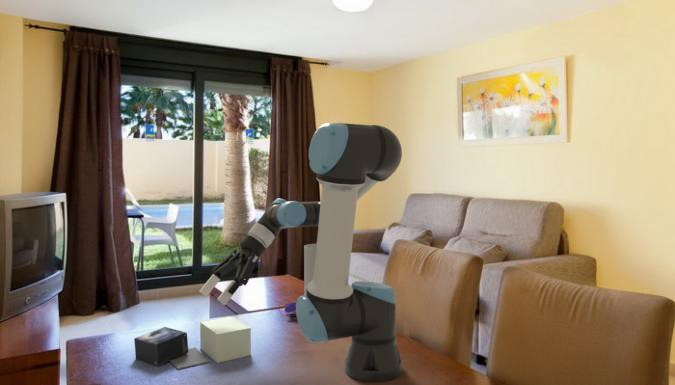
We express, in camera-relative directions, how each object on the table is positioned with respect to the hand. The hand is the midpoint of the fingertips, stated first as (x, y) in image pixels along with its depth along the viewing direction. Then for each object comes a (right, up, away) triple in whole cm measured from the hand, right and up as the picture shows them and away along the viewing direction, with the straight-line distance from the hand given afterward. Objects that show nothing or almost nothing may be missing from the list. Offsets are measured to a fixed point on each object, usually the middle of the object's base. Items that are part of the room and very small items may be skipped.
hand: (211, 298), depth 141 cm
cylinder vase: (+30, -15, +48) cm, 59 cm away
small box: (-11, -12, +3) cm, 17 cm away
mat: (-6, -17, -3) cm, 18 cm away
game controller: (+21, -16, +40) cm, 48 cm away
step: (+3, -16, +3) cm, 17 cm away
